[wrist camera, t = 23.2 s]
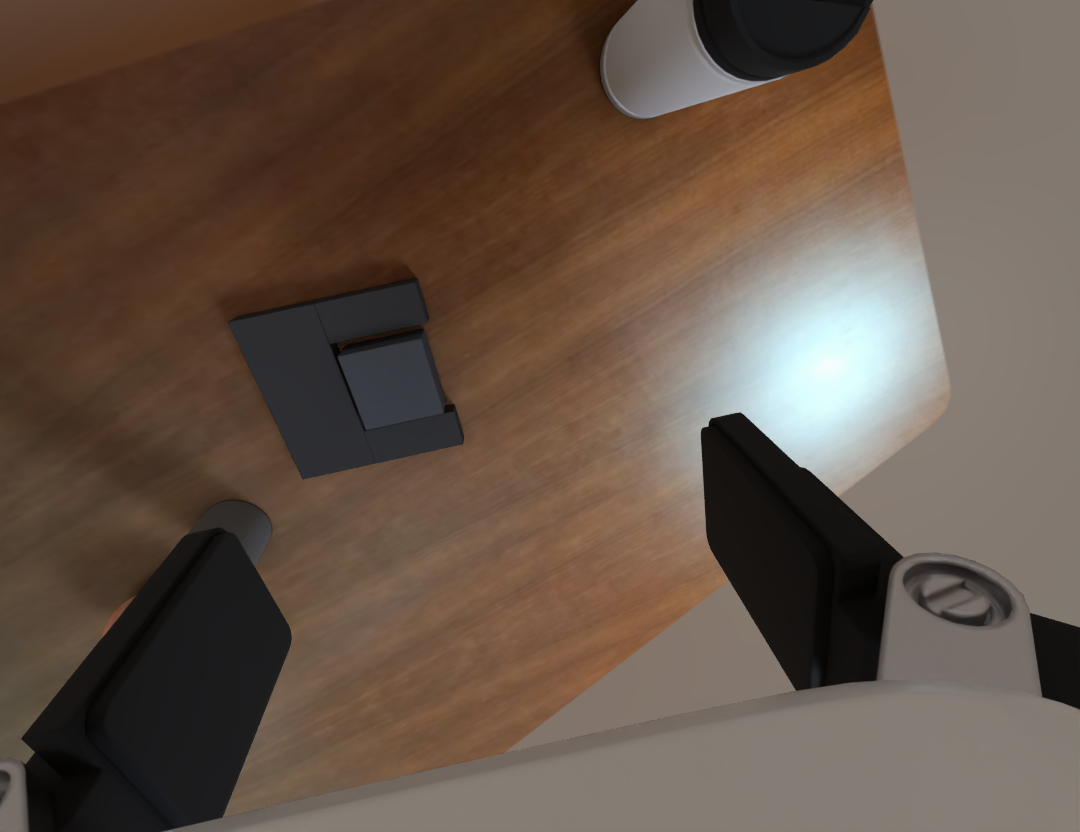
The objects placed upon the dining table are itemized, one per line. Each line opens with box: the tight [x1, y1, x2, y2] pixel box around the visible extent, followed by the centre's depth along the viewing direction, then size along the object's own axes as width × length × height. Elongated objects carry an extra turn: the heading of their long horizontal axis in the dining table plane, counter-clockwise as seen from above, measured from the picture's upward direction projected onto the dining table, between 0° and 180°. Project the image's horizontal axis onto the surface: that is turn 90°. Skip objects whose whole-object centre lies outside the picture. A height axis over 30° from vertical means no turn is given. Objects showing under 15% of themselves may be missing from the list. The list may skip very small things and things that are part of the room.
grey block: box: [338, 329, 446, 430], centre depth 41 cm, size 6×6×3 cm
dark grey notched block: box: [228, 278, 464, 479], centre depth 41 cm, size 14×14×2 cm
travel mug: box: [600, 0, 873, 119], centre depth 26 cm, size 6×7×20 cm
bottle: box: [189, 500, 272, 567], centre depth 40 cm, size 6×6×15 cm
